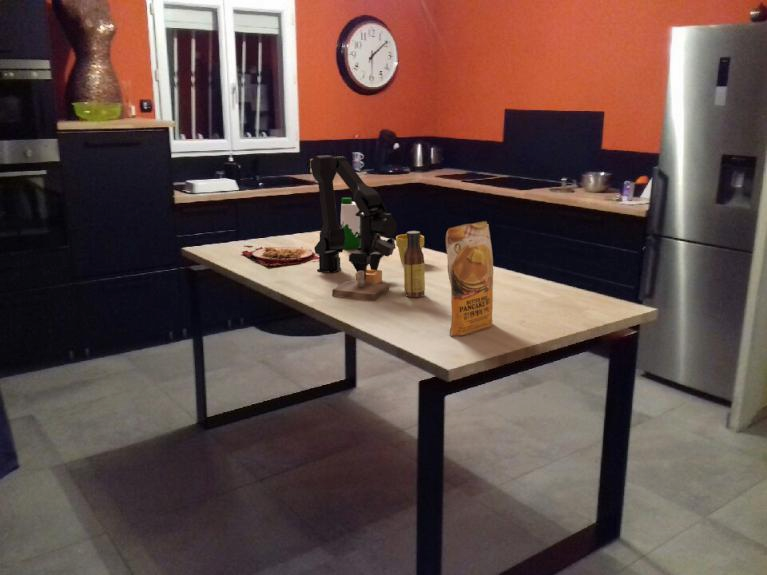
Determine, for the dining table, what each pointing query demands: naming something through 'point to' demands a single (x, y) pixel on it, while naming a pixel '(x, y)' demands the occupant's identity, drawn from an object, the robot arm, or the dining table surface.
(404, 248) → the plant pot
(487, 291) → the pancake mix bag
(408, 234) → the sauce bottle
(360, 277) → the brown peg board
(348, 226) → the milk carton
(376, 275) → the orange square ring
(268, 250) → the plate with food
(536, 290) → the dining table surface
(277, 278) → the dining table surface
